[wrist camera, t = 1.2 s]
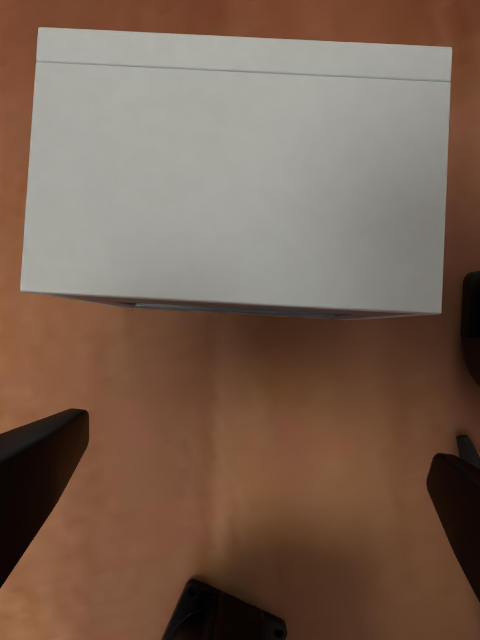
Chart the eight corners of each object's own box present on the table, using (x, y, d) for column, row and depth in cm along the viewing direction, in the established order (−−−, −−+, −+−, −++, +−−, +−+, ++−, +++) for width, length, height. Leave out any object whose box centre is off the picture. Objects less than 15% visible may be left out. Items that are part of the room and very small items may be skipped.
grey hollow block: (349, 320, 19) (442, 314, 10) (121, 307, 19) (18, 291, 10) (355, 175, 20) (453, 45, 11) (130, 163, 20) (37, 25, 11)
